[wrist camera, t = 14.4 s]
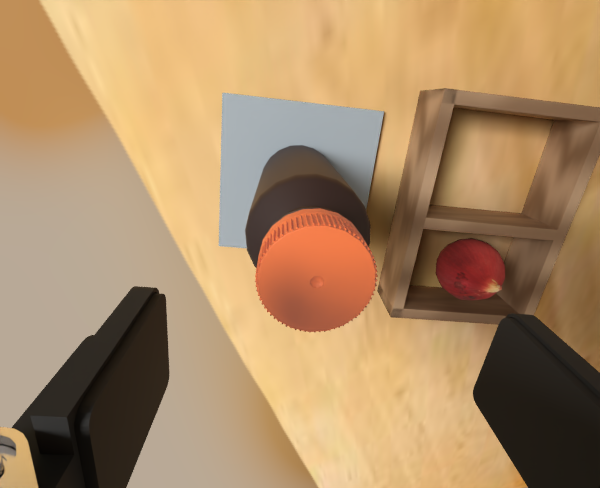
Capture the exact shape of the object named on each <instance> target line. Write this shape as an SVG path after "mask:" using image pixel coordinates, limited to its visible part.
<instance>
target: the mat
mask: <svg viewBox="0 0 600 488" xmlns="http://www.w3.org/2000/svg"><path fill="white" fill-rule="evenodd" d="M383 115H384V111H375V110H367V109H358V108H350V107H341V106H332V105H324V104H315V103H307V102H298V101H290V100H281V99H272V98H264V97H255V96H247V95H238V94H229V93H223V94H222V136H221V177H220V219H219V246H225V247H237V248H247V245H246V235H245V228H246V224H247V219H248V215H249V211H250V208H251V205H252V202H253V199H254V196H255V193H256V190H257V187H258V184H259V180H260V177H261V174H262V171H263V168H264V166H265V165H266V163H267V162H268V160H269V158H270V157H271V156H272V155H274V154H275V153H276V152H277V151H279V150H280V149H283V148H286V147H288V146H294V145H304V146H307V147H310V148H314V149H315V150H317V151H318V152H320V153H321V154H322V155H324V156H325V158H326V159H327V160H328V161H329V162H330V163H331V165H332V166H333V167H334V168H335V169H336V171H337V172H338V173H339V174H340V175H341V176H342V178H343V179H344V180H345V181H346V182H347V184H348V185H349V186H350V187H351V188H352V190H353V191H354V192H355V193H356V195H357V196H358V198H359V199H360V200H361V202H362V203H363V204H364V206H365V209H366V208H367V202H368V197H369V191H370V186H371V180H372V175H373V169H374V164H375V158H376V153H377V147H378V142H379V136H380V131H381V126H382V120H383Z"/></svg>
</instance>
